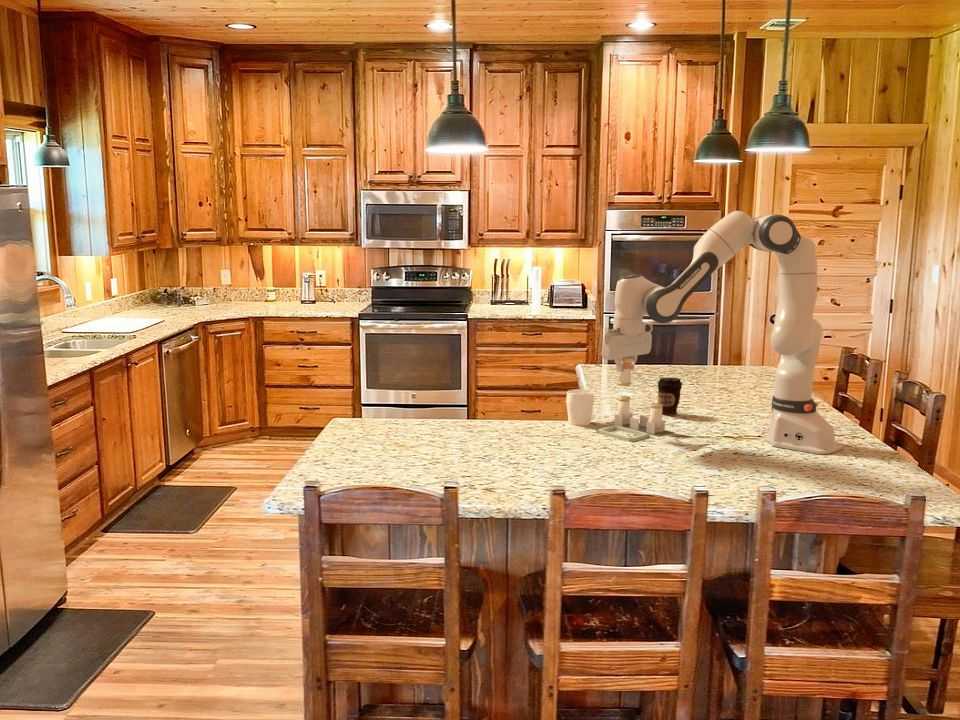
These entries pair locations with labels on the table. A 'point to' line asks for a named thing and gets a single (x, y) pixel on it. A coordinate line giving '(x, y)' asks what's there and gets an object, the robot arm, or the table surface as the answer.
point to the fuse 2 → (656, 416)
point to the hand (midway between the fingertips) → (625, 370)
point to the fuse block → (640, 425)
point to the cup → (579, 406)
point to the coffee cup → (669, 395)
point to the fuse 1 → (624, 408)
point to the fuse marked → (625, 372)
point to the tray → (631, 439)
